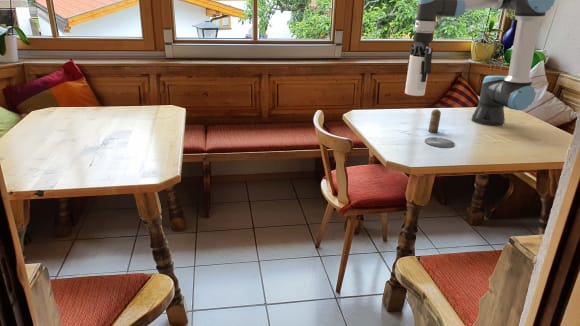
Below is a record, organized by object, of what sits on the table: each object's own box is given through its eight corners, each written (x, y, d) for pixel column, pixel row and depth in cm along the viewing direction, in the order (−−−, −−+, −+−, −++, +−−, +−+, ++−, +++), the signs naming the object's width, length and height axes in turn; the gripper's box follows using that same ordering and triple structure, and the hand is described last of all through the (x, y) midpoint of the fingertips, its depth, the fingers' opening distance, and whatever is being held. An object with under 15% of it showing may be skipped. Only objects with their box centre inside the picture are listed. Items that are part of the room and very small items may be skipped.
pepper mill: (434, 130, 198) (438, 108, 194) (439, 132, 194) (443, 110, 190) (426, 130, 197) (430, 108, 193) (431, 133, 193) (435, 110, 189)
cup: (425, 96, 179) (431, 57, 173) (405, 94, 181) (410, 56, 175) (423, 92, 187) (429, 55, 181) (404, 90, 188) (409, 53, 182)
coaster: (443, 138, 188) (444, 136, 187) (460, 147, 177) (460, 145, 176) (419, 139, 185) (419, 137, 184) (434, 148, 174) (434, 147, 174)
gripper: (403, 29, 183) (396, 82, 191) (428, 34, 164) (420, 92, 173) (419, 29, 185) (411, 82, 193) (446, 34, 166) (436, 92, 174)
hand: (415, 87), depth 183 cm, fingers closed on cup, 8 cm apart
